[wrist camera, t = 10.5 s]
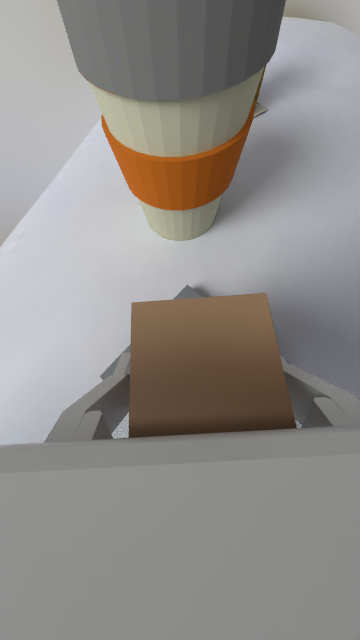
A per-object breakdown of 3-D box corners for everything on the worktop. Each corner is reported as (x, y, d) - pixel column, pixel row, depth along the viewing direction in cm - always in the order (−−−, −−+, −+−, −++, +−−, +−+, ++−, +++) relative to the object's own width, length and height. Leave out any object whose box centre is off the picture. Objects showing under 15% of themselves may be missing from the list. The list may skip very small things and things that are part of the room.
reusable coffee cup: (245, 196, 23) (341, -94, 9) (200, 269, 20) (232, 13, 6) (165, 166, 25) (136, -103, 11) (114, 228, 22) (-17, -28, 8)
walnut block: (164, 344, 14) (131, 302, 6) (218, 341, 14) (265, 293, 6) (166, 404, 13) (128, 462, 5) (226, 400, 13) (302, 452, 4)
